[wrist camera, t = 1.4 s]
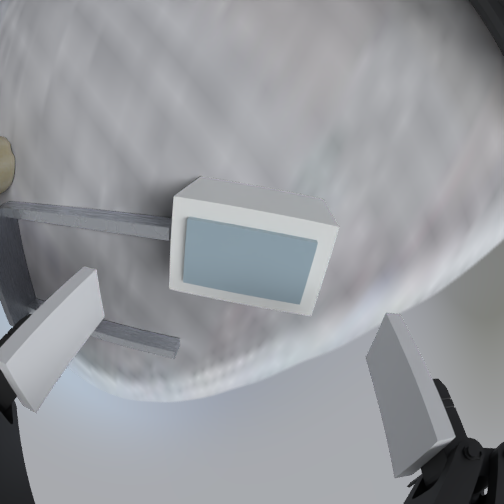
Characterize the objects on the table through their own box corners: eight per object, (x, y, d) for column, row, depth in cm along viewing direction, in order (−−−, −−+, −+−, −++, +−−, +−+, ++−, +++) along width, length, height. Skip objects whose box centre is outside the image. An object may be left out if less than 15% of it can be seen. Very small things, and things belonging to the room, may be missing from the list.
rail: (9, 201, 22) (-22, 217, 18) (177, 218, 22) (152, 244, 17) (32, 302, 28) (9, 324, 24) (180, 345, 28) (165, 381, 23)
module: (201, 175, 20) (171, 198, 15) (323, 198, 20) (340, 229, 15) (193, 249, 23) (167, 292, 17) (304, 270, 23) (311, 320, 17)
